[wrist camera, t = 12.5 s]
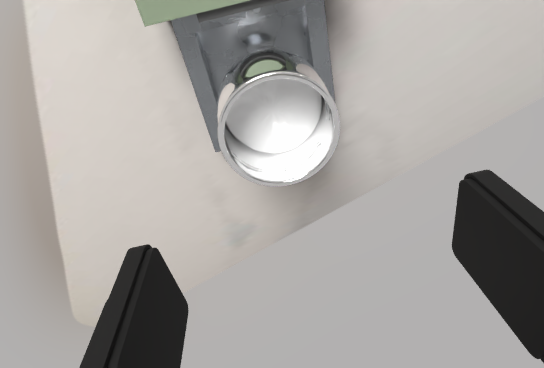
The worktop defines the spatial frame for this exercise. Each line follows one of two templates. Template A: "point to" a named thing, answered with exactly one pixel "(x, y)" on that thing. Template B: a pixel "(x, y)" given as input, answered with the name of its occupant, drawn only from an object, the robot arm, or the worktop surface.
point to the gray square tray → (231, 29)
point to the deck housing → (195, 8)
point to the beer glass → (274, 114)
